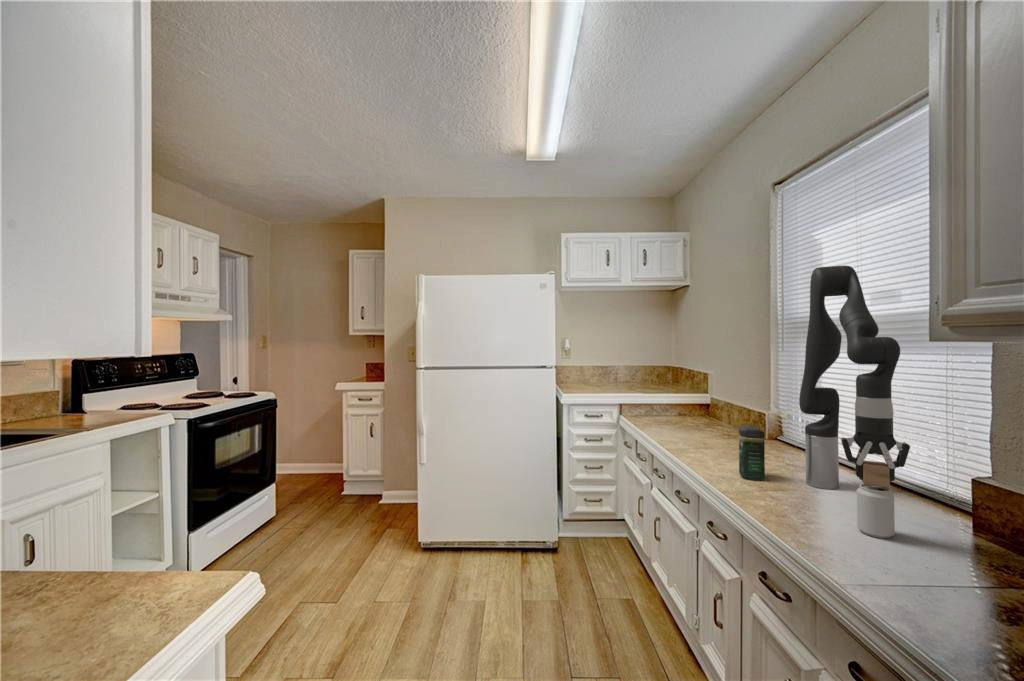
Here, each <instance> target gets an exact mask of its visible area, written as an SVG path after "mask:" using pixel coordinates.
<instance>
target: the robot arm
mask: <svg viewBox="0 0 1024 681" xmlns="http://www.w3.org/2000/svg"><path fill="white" fill-rule="evenodd" d="M809 283H810V284H809V286H810V287H809V290H810V291H809V316H808V318H809V321H808V327H807V334H806V343H805V354H804V355H805V358H804V370H803V375H802V379H801V380H802V381H801V384H800V386H801V387H800V392H799V398H798V401H799V403H798V404H799V408H800V411H801V412H802V413H803V414H805V415H806V414H807V415H814V416H815V415H816V416H817V415H818V416H820V415H821V416H823V417H822V418H821V419H820V420H818V421H815V422H812V423H811V422H810V423H808V424H806V425H805V428H804V438H805V440H804V442H805V448H804V449H805V483H806V484H807V485H808V486H810V487H811V486H812V487H814V488H818V489H826V490H836V489H839V488H840V475H839V474H840V473H839V472H840V471H839V468H840V467H839V466H840V465H839V464H840V462H839V459H840V458H839V425H840V424H839V423H840V422H839V419H840V402H841V401H840V395H839V392H838V391H837V389H836V388H833V387H816V386H817V385H818V384H817V383H818V382H819V380H820V379H821V377H822V375H823V374H824V373H825V372H826V371H828V369H829V368H830V367H831V366H832V365H833V364H834V363H835V362H836V361H837V359H838V358H839V356H840V354H841V349H842V348H841V346H842V341H843V340H842V333H841V331H840V329H839V328H838V326H837V325H836V323H835V322H834V320H833V319H832V318H831V316H830V315H829V313H828V311H827V309H826V305H825V298H826V297H841V296H845V297H847V299H846V301H845V303H844V304H843V305H842V307H841V309H840V311H839V316H838V319H839V323H840V325H841V327H842V329H843V331H844V334H845V336H846V341H847V343H846V344H847V346H846V355H847V358H848V359H849V360H850V361H851V362H852V363H854V364H857V365H877V367H876V368H874V369H875V370H873V371H871V372H866V373H860V374H858V375H857V376H856V377H855V392H856V396H855V397H856V398H855V404H854V418H855V421H854V424H855V425H854V428H855V431H854V432H855V433H854V435H853V437H843V436H842V437H841V439H840V441H841V444H842V448H843V450H844V451H843V452H844V454H845V458H846V460H847V461H848V462H849V463H852V464H855V475H856V477H857V478H858V479H859V480H861V481H862V480H863V465H862V463H863V461H864V460H865V459H866V458H867V457H868V456H867V455H878V456H882V458H883V460H884V462H885V463H886V464H887V465H888V466H889V467H890V484H892V483H893V482H894V481H895V479H896V477H895V476H896V475H895V474H896V472H895V470H896V468H903V467H905V465H906V462H907V458H908V455H909V452H910V449H911V446H910V444H908V443H907V442H901V441H897V440H896V439H895V437H894V415H895V413H894V406H893V401H892V399H893V398H892V381H893V377H894V374H895V370H896V367H897V364H898V361H899V359H900V355H901V346H900V344H899V342H898V341H897V340H896V339H894V338H893V337H888V336H878V335H879V327H878V323H877V322H876V320H875V319H874V318H873V315H872V313H871V312H870V311H869V309H868V307H867V303H866V300H865V296H864V292H863V289H862V286H861V283H860V279H859V277H858V273H857V272H856V270H855V269H854V268H853V266H849V265H833V266H832V265H831V266H830V265H829V266H819V267H816V268H814V269H813V271H812V272H811V277H810V282H809ZM853 443H855V444H856V445H857V446H858V447H859V449H858V451H857V455H856V457H855V456H853V454H852V450H851V447H852V446H853ZM895 446H896V449H897V450H898V453H897V455H896V456H897V457H896V460H894V461H893V459H892V456H891V453H890V451H891V450H892V449H893V447H895Z"/></svg>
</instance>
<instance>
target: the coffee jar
mask: <svg viewBox="0 0 1024 681" xmlns="http://www.w3.org/2000/svg"><path fill="white" fill-rule="evenodd" d="M765 439H766V438H765V431H764V430H763V429H761V428H759V427H758V426H756V425H755V424H753V425H752V424H750V425H749V424H743V425H742V426H740V427H739V428H738V458H739V459H738V466H739V467H738V473H739V474H740V476H741V477H742V478H743V479H747V480H752V481H760V480H762V481H763V480H765V477H766V469H765V468H766V467H765V465H766V463H765V460H766V459H765V457H766V454H765V450H766V448H765Z"/></svg>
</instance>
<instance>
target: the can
mask: <svg viewBox="0 0 1024 681" xmlns="http://www.w3.org/2000/svg"><path fill="white" fill-rule="evenodd" d="M891 491H892V490H891V488H890V487H882V486H873V485H865V484H864V483H860V484H859V487H858V488H857V489H856V527H857V528H858V529H859V531H860V532H862V533H864V534H865V535H867V536H871V537H874V538H878V539H879V538H880V539H890V538H891V537H893V536H894V535H895V532H896V531H895V495H894V494H893V493H892V492H891Z"/></svg>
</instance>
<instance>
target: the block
mask: <svg viewBox="0 0 1024 681" xmlns="http://www.w3.org/2000/svg"><path fill="white" fill-rule="evenodd" d="M862 465H863V480H861V481H862V484H865V485H873V486H882V487H887V488H890V487H891V483H890V467H889V466H888V465H887V464H886V462H885V461H883V462H882V461H875V460H874V461H872V460H865V459H864V461H863V463H862Z"/></svg>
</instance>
